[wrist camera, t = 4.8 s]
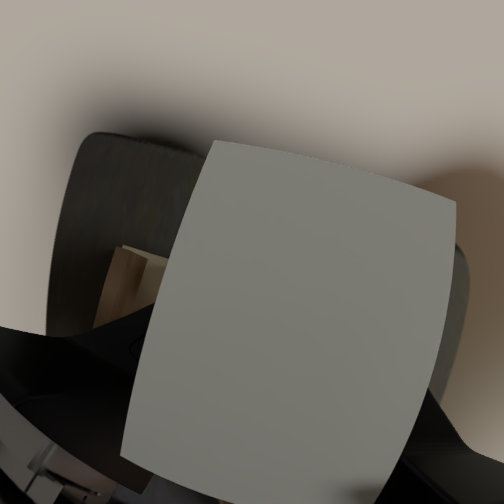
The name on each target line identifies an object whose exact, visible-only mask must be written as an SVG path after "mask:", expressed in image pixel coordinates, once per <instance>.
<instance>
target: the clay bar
mask: <svg viewBox="0 0 504 504" xmlns="http://www.w3.org/2000/svg"><path fill="white" fill-rule="evenodd" d="M455 231H456V202H455V201H452V200H450V199H447V198H445V197H442V196H439V195H437V194H434V193H431V192H428V191H426V190H423V189H420V188H417V187H414V186H411V185H409V184H406V183H402V182H399V181H396V180H393V179H390V178H387V177H383V176H380V175H377V174H373V173H370V172H367V171H363V170H360V169H356V168H352V167H349V166H345V165H341V164H337V163H333V162H329V161H325V160H321V159H316V158H312V157H308V156H303V155H299V154H294V153H289V152H284V151H279V150H274V149H269V148H262V147H257V146H251V145H245V144H238V143H232V142H225V141H217V140H214V142H213V145H212V147H211V149H210V152H209V154H208V156H207V159H206V161H205V163H204V166H203V168H202V171H201V173H200V176H199V178H198V181H197V183H196V186H195V188H194V191H193V193H192V196H191V199H190V201H189V204H188V207H187V209H186V212H185V215H184V217H183V220H182V223H181V226H180V228H179V231H178V234H177V237H176V240H175V243H174V246H173V249H172V251H171V254H170V257H169V260H168V263H167V267H166V270H165V273H164V276H163V279H162V282H161V285H160V289H159V292H158V295H157V298H156V302H155V305H154V309H153V312H152V316H151V319H150V323H149V326H148V330H147V333H146V337H145V341H144V345H143V349H142V353H141V356H140V360H139V365H138V369H137V373H136V377H135V381H134V386H133V390H132V395H131V400H130V404H129V409H128V414H127V419H126V424H125V430H124V435H123V441H122V447H121V453H120V456H122V457H124V458H126V459H127V460H129V461H131V462H133V463H135V464H137V465H139V466H141V467H142V468H144V469H146V470H148V471H151V472H153V473H155V474H157V475H159V476H161V477H163V478H165V479H168V480H170V481H172V482H175V483H177V484H179V485H182V486H184V487H187V488H189V489H192V490H195V491H197V492H200V493H203V494H206V495H208V496H211V497H214V498H218V499H221V500H224V501H227V502H231V503H234V504H374V502H375V501H376V499H377V497H378V496H379V494H380V492H381V491H382V489H383V487H384V485H385V484H386V482H387V480H388V478H389V476H390V475H391V473H392V471H393V469H394V467H395V465H396V463H397V461H398V459H399V457H400V455H401V453H402V451H403V449H404V447H405V444H406V442H407V440H408V438H409V435H410V433H411V431H412V428H413V426H414V423H415V421H416V418H417V416H418V413H419V411H420V408H421V405H422V402H423V400H424V397H425V394H426V391H427V388H428V385H429V382H430V378H431V375H432V372H433V368H434V365H435V361H436V357H437V354H438V350H439V346H440V341H441V337H442V333H443V328H444V323H445V318H446V313H447V307H448V301H449V295H450V288H451V280H452V271H453V262H454V250H455Z"/></svg>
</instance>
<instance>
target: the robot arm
mask: <svg viewBox="0 0 504 504" xmlns="http://www.w3.org/2000/svg"><path fill="white" fill-rule="evenodd" d="M154 305H155V302H154V303H152V304H150V305H148V306H146V307H144V308H142V309H139V310H137V311H135V312H133V313H131V314H128V315H126V316H123V317H121V318H119V319H116V320H114V321H111V322H108V323H106V324H103V325H100V326H98V327H95V328H93V329H90V330H87V331H85V332H82V333H79V334H76V335H73V336H68V337H50V336H44V335H38V334H34V333H28V332H23V331H19V330H14V329H9V328H5V327H1V326H0V504H107V503H108V501H109V500H110V498H111V496H112V494H113V493H114V491H115V489H116V487H117V486H118V484H121V485H123V486H125V487H127V488H129V489H131V490H133V491H135V492H137V493H139V494H142V493H143V491H144V489H145V488H146V486H147V484H148V483H149V481H150V480H151V478H152V476H153V475H154V473H153V472H151V471H148V470H146V469H144V468H142V467H141V466H139V465H137V464H135V463H133V462H131V461H129V460H127V459H126V458H124V457H122V456H120V453H121V447H122V441H123V435H124V430H125V424H126V419H127V414H128V409H129V404H130V400H131V395H132V390H133V386H134V381H135V377H136V373H137V369H138V365H139V360H140V356H141V353H142V349H143V345H144V341H145V337H146V333H147V330H148V326H149V323H150V319H151V316H152V312H153V309H154ZM374 504H504V463H502V462H499V461H497V460H494V459H491V458H489V457H486V456H484V455H481V454H479V453H477V452H475V451H473V450H472V449H470V448H469V447H468V446H467V445H466V444H465V443H464V442H463V440H462V439H461V437H460V436H459V434H458V433H457V431H456V430H455V428H454V427H453V425H452V424H451V422H450V421H449V419H448V418H447V416H446V415H445V413H444V412H443V410H442V409H441V407H440V405H439V404H438V402H437V401H436V399H435V398H434V396H433V395H432V393H431V392H430V390H429V388H427V391H426V394H425V397H424V400H423V402H422V405H421V408H420V411H419V413H418V416H417V418H416V421H415V423H414V426H413V428H412V431H411V433H410V435H409V438H408V440H407V442H406V444H405V447H404V449H403V451H402V453H401V455H400V457H399V459H398V461H397V463H396V465H395V467H394V469H393V471H392V473H391V475H390V476H389V478H388V480H387V482H386V484H385V485H384V487H383V489H382V491H381V492H380V494H379V496H378V497H377V499H376V501H375V502H374Z"/></svg>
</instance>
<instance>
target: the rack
mask: <svg viewBox="0 0 504 504" xmlns="http://www.w3.org/2000/svg"><path fill="white" fill-rule="evenodd" d="M168 260H169V259H167V258H163V257H160V256H157V255H154V254H150V253H147V252H144V251H141V250H138V249H135V248H131V247H128V246H125V245H123V247H122V248H121V247H118V246H116V249H115V252H114V255H113V258H112V261H111V264H110V267H109V271H108V274H107V277H106V280H105V284H104V287H103V291H102V294H101V298H100V302H99V305H98V309H97V313H96V317H95V321H94V325H93V328H95V327H98V326H100V325H103V324H106V323H108V322H111V321H114V320H116V319H119V318H121V317H123V316H126V315H128V314H131V313H133V312H135V311H137V310H139V309H142V308H144V307H146V306H148V305H150V304H152V303H154V302H156V298H157V295H158V292H159V289H160V285H161V282H162V279H163V276H164V273H165V270H166V267H167V263H168Z"/></svg>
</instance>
